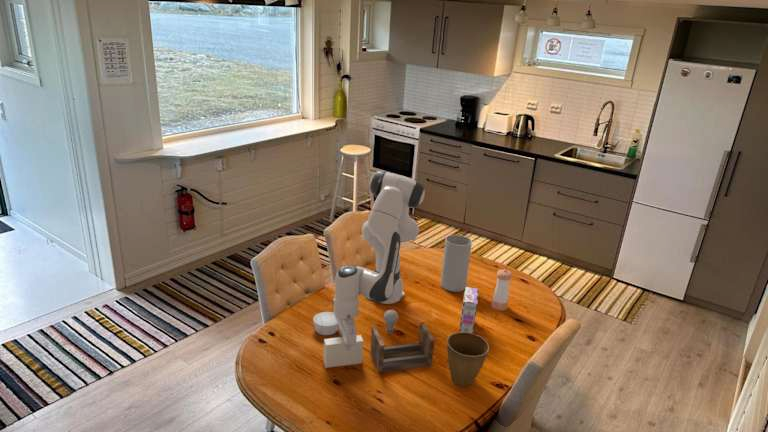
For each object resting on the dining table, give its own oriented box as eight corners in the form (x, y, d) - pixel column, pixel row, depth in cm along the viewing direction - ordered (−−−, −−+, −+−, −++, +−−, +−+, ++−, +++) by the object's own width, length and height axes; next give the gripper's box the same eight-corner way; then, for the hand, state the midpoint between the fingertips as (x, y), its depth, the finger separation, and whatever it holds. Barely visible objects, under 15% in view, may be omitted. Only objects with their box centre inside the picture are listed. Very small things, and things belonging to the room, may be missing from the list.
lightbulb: (386, 339, 218) (388, 315, 214) (379, 331, 223) (381, 308, 219) (399, 336, 221) (401, 312, 217) (392, 328, 226) (394, 305, 222)
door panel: (323, 361, 202) (324, 338, 198) (359, 357, 206) (360, 334, 202) (325, 367, 198) (326, 345, 195) (362, 363, 202) (363, 341, 199)
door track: (370, 354, 208) (371, 327, 204) (420, 347, 214) (423, 322, 210) (378, 373, 197) (380, 345, 193) (431, 366, 203) (434, 339, 199)
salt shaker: (506, 303, 252) (512, 266, 245) (508, 311, 245) (514, 274, 238) (490, 301, 252) (496, 265, 245) (492, 309, 246) (497, 272, 239)
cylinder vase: (448, 277, 272) (453, 232, 263) (470, 285, 266) (476, 239, 257) (435, 286, 263) (440, 240, 254) (458, 295, 256) (464, 247, 247)
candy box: (472, 338, 223) (477, 303, 217) (458, 335, 224) (463, 301, 218) (474, 320, 236) (478, 287, 230) (460, 318, 237) (465, 285, 231)
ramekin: (307, 328, 222) (307, 317, 220) (327, 319, 229) (328, 308, 228) (325, 340, 215) (325, 329, 213) (345, 330, 222) (346, 319, 221)
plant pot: (455, 397, 187) (460, 359, 182) (435, 372, 200) (439, 335, 194) (491, 388, 193) (497, 351, 188) (469, 364, 206) (474, 328, 200)
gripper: (361, 323, 185) (359, 357, 190) (348, 295, 203) (346, 326, 208) (343, 325, 183) (342, 359, 188) (331, 296, 202) (330, 328, 206)
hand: (344, 341), depth 198 cm, fingers open, 8 cm apart
